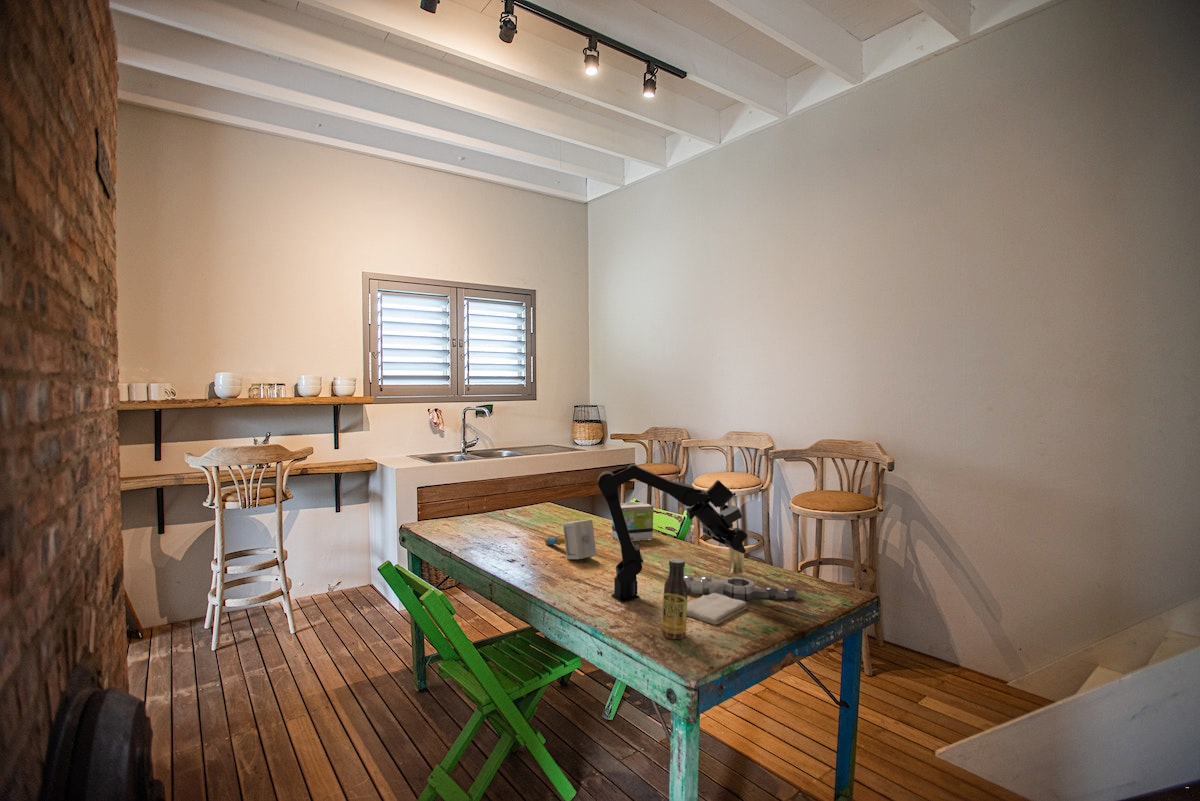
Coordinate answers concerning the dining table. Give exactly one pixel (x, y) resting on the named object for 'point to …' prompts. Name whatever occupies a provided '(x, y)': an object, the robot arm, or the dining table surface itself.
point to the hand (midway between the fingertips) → (740, 550)
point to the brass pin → (736, 561)
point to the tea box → (637, 521)
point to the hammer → (576, 539)
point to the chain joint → (736, 588)
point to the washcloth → (714, 608)
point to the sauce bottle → (675, 601)
